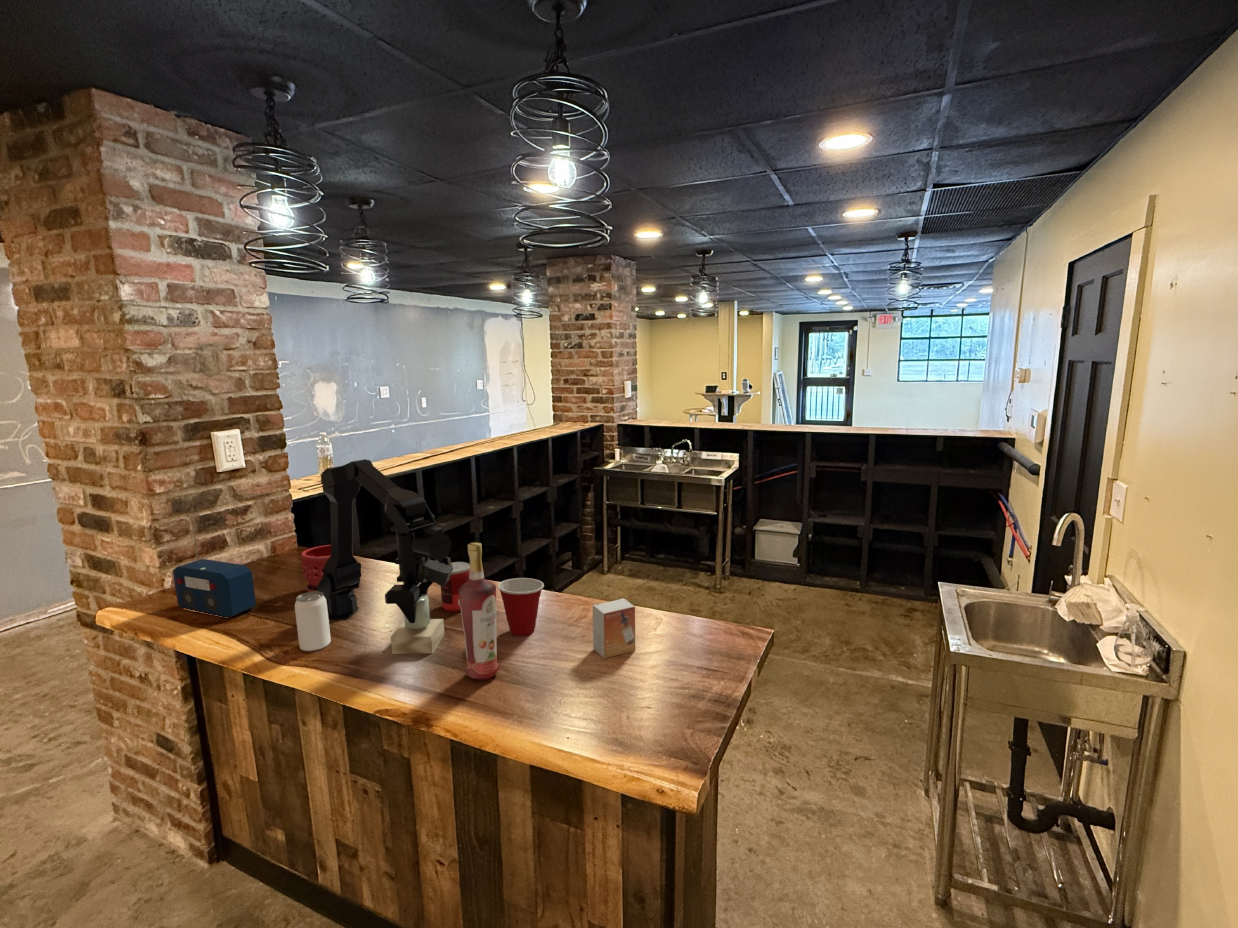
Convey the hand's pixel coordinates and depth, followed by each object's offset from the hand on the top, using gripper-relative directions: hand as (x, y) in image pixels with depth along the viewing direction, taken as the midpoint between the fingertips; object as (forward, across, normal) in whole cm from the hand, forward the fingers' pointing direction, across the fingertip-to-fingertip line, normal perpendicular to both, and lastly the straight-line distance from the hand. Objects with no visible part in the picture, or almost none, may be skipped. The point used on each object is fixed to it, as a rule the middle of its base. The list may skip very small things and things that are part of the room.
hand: (416, 617), depth 135 cm
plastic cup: (+7, +6, -23) cm, 25 cm away
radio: (+7, +21, +61) cm, 65 cm away
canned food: (+7, +21, -3) cm, 22 cm away
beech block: (+6, 0, 0) cm, 7 cm away
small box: (+7, -4, -45) cm, 46 cm away
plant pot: (+7, +34, +37) cm, 51 cm away
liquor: (+7, -14, -18) cm, 24 cm away
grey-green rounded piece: (+2, 0, 0) cm, 2 cm away
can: (+7, 0, +24) cm, 25 cm away
